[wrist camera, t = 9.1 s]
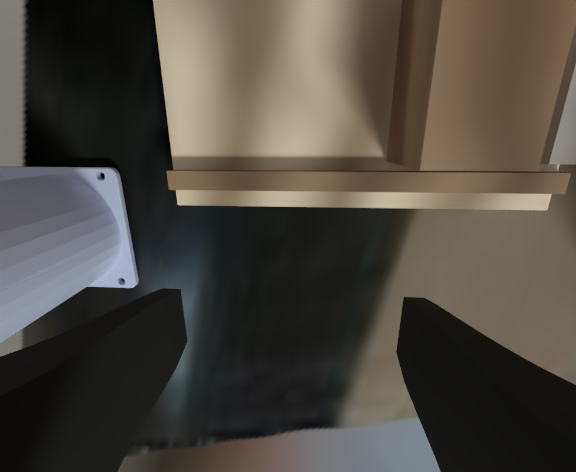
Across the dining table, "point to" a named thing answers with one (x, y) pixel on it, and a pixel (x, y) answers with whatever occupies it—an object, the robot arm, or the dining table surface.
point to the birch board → (315, 111)
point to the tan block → (477, 82)
